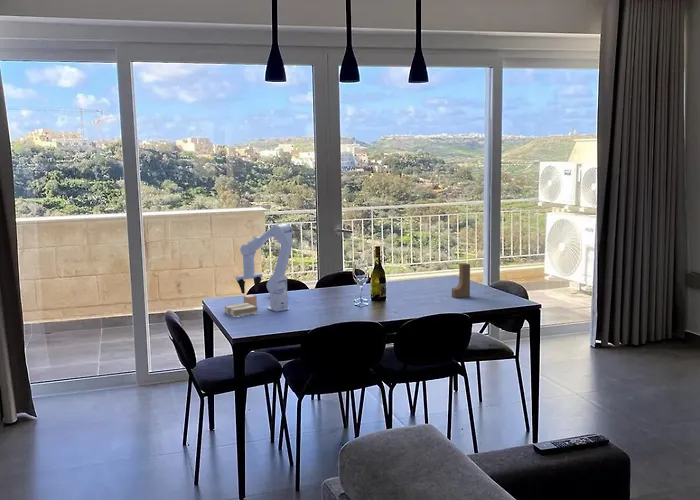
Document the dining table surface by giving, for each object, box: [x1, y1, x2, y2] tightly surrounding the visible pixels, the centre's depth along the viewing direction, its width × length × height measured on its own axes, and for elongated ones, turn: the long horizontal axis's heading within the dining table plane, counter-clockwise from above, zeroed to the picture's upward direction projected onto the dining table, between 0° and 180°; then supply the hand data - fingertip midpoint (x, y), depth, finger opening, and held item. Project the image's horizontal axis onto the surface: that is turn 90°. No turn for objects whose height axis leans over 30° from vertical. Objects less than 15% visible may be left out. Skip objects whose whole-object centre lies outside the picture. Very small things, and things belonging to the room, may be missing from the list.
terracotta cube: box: [243, 294, 258, 306], centre depth 355 cm, size 5×5×5 cm
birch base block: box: [224, 302, 258, 318], centre depth 337 cm, size 12×12×4 cm
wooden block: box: [451, 262, 471, 299], centre depth 366 cm, size 9×4×18 cm, turn 108°
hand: (249, 292), depth 354 cm, fingers open, 7 cm apart
